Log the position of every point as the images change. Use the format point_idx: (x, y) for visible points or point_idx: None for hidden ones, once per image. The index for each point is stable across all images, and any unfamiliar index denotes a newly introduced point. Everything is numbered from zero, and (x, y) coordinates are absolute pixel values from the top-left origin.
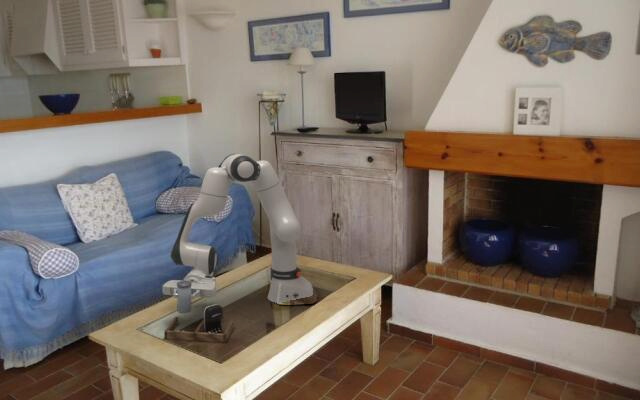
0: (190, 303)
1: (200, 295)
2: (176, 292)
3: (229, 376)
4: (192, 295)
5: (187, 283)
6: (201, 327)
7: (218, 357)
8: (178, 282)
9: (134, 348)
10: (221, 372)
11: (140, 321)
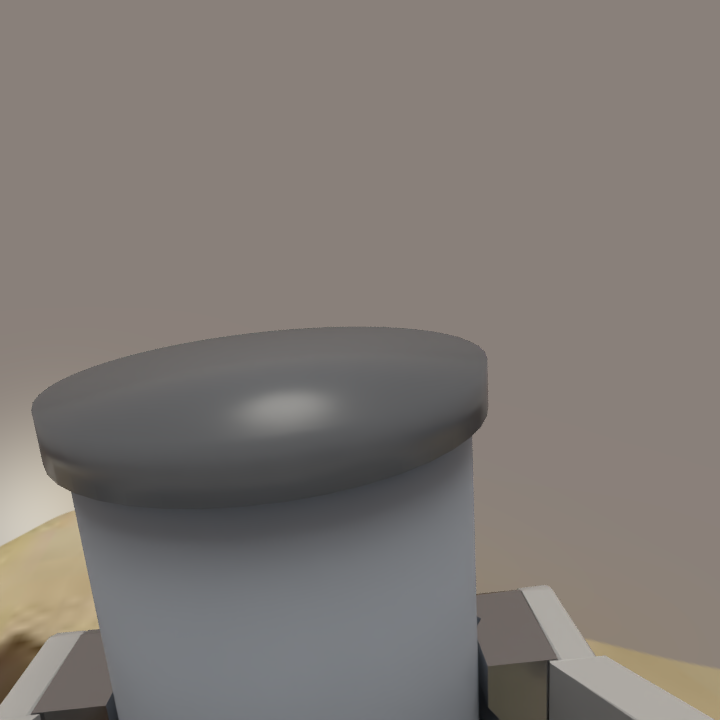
0: None
1: None
2: (535, 646)
3: (16, 561)
4: (96, 632)
5: (174, 371)
6: None
7: (14, 683)
8: (458, 354)
9: (627, 668)
10: (45, 575)
11: None
